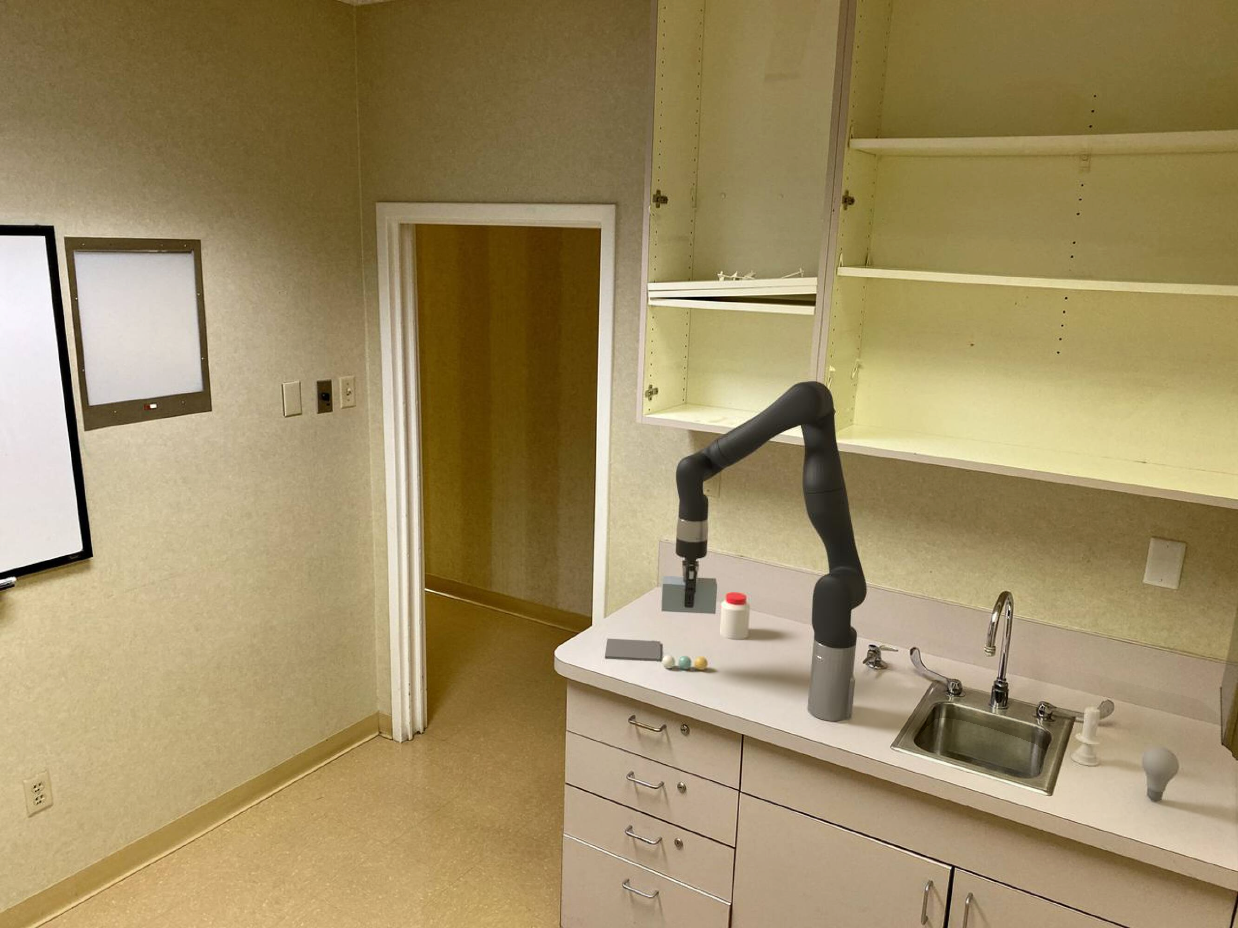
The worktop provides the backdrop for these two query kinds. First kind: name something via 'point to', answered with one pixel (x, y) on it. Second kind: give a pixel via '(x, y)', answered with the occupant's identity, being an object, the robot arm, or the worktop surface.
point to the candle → (1088, 738)
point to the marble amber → (701, 663)
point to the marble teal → (684, 662)
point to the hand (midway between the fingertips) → (688, 602)
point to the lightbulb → (1159, 770)
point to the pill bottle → (734, 616)
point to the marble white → (668, 661)
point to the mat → (633, 649)
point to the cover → (676, 595)
